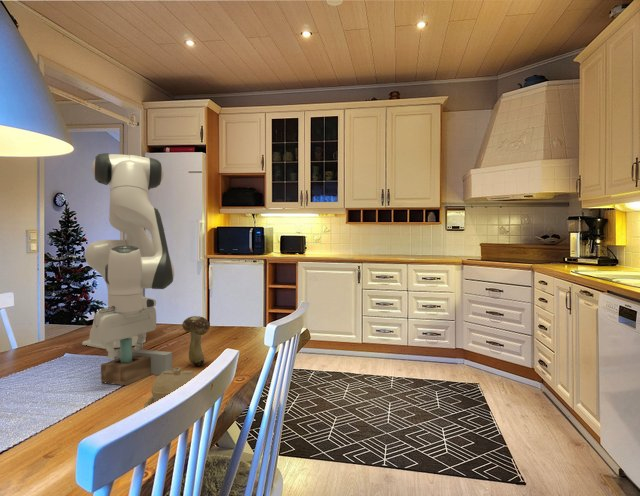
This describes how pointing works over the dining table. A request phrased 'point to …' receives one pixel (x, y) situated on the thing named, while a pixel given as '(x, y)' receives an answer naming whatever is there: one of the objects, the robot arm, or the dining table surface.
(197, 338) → the mushroom
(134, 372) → the open box
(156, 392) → the ceramic model
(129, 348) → the green rectangular block
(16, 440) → the dining table surface
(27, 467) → the dining table surface
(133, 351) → the wall
